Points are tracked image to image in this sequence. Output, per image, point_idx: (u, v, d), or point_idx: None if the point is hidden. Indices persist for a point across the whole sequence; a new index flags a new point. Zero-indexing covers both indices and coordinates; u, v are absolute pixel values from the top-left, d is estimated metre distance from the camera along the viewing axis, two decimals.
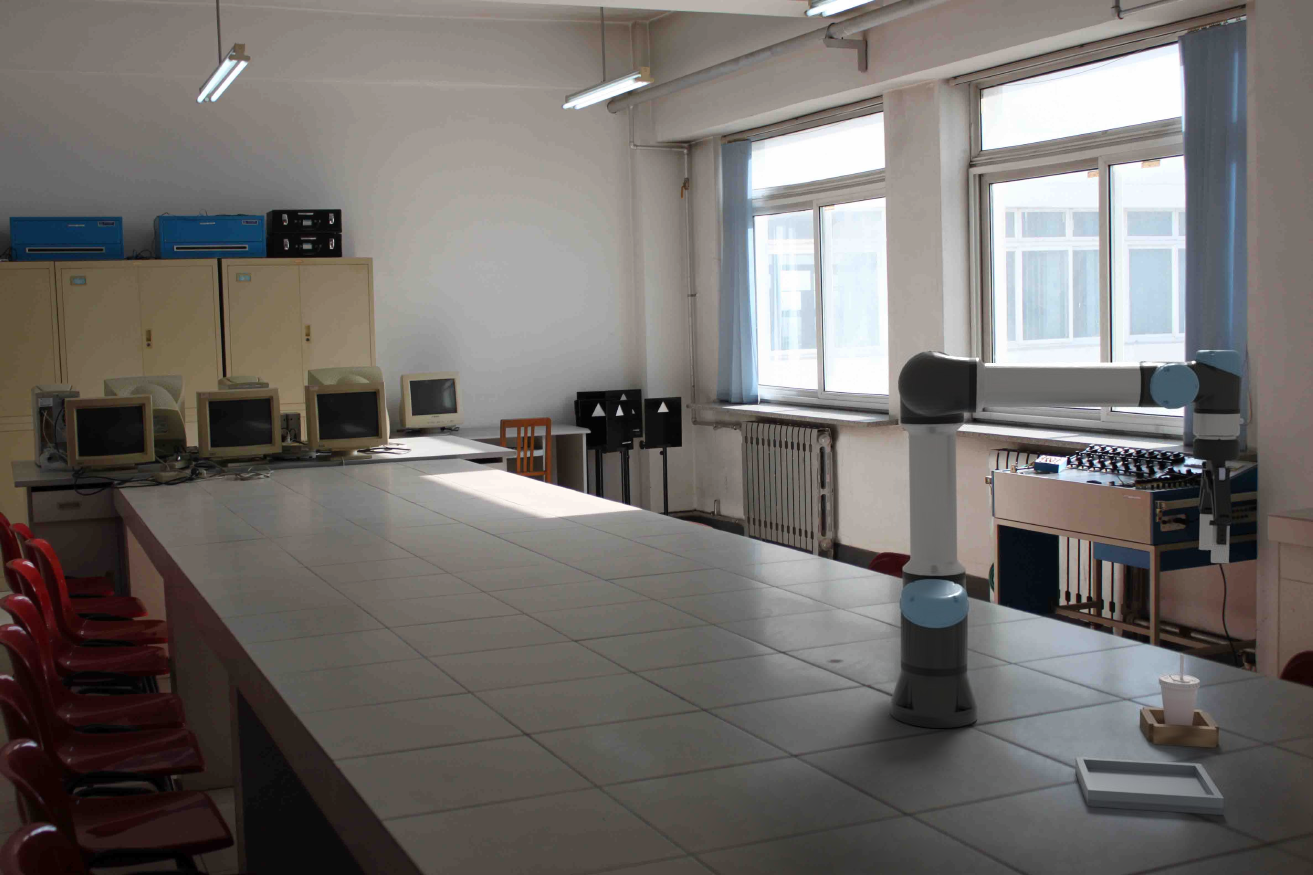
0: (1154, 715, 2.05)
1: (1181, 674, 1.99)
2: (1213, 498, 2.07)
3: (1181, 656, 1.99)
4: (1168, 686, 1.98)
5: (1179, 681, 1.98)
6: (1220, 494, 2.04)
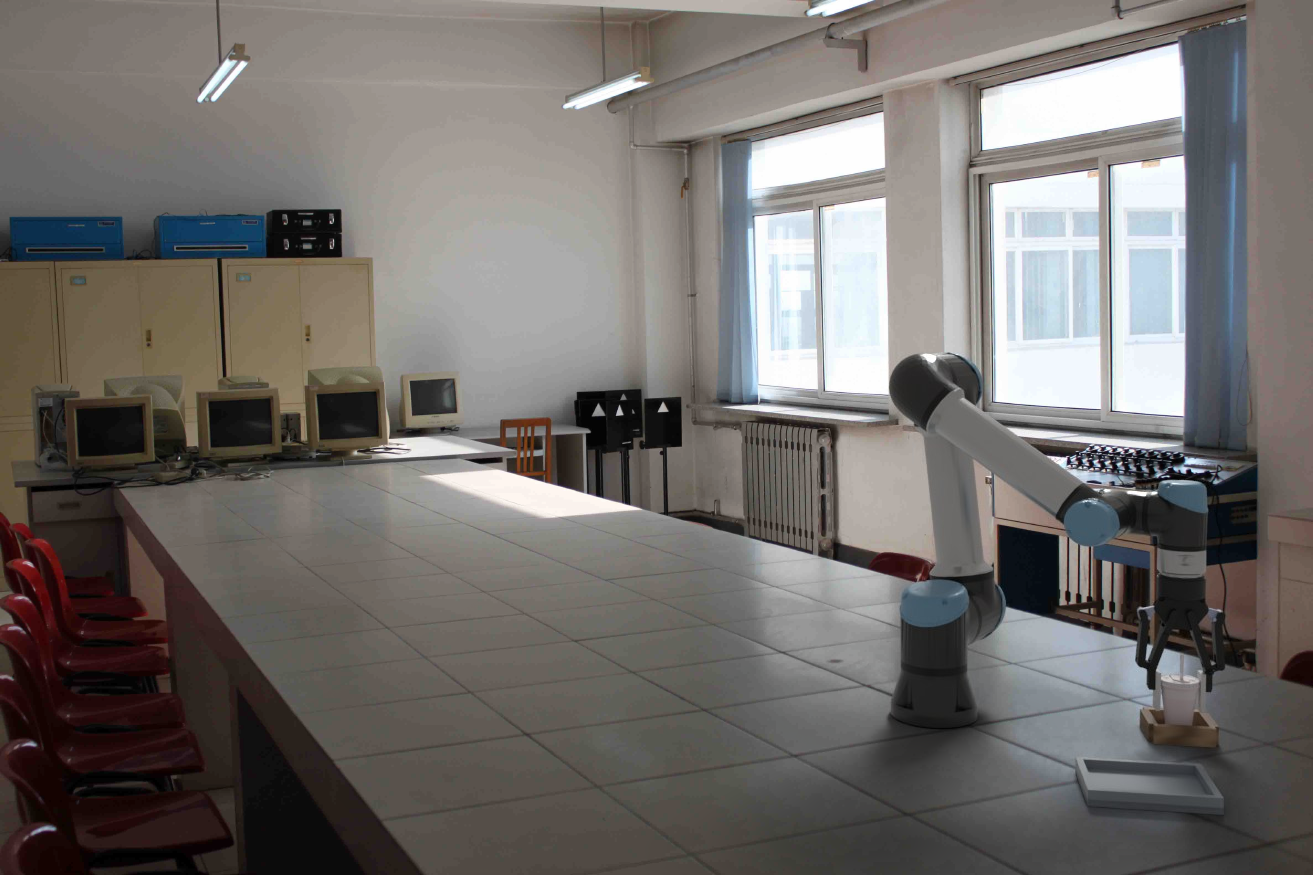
0: (1154, 715, 2.05)
1: (1181, 674, 1.99)
2: None
3: (1181, 656, 1.99)
4: (1168, 686, 1.98)
5: (1179, 681, 1.98)
6: (1138, 635, 2.01)
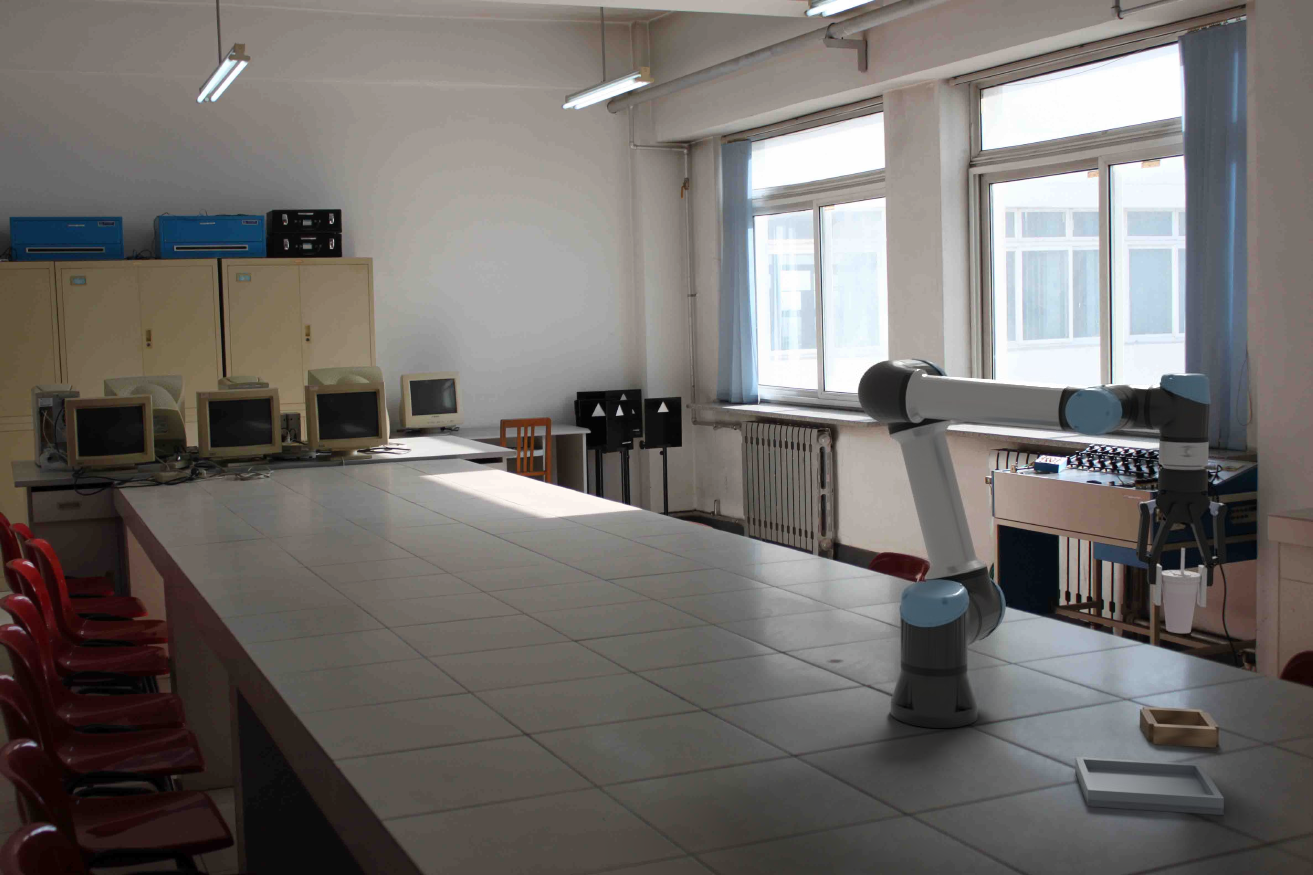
0: (1154, 715, 2.05)
1: (1182, 568, 1.98)
2: None
3: (1182, 550, 1.98)
4: (1168, 580, 1.97)
5: (1180, 575, 1.97)
6: (1139, 530, 2.00)
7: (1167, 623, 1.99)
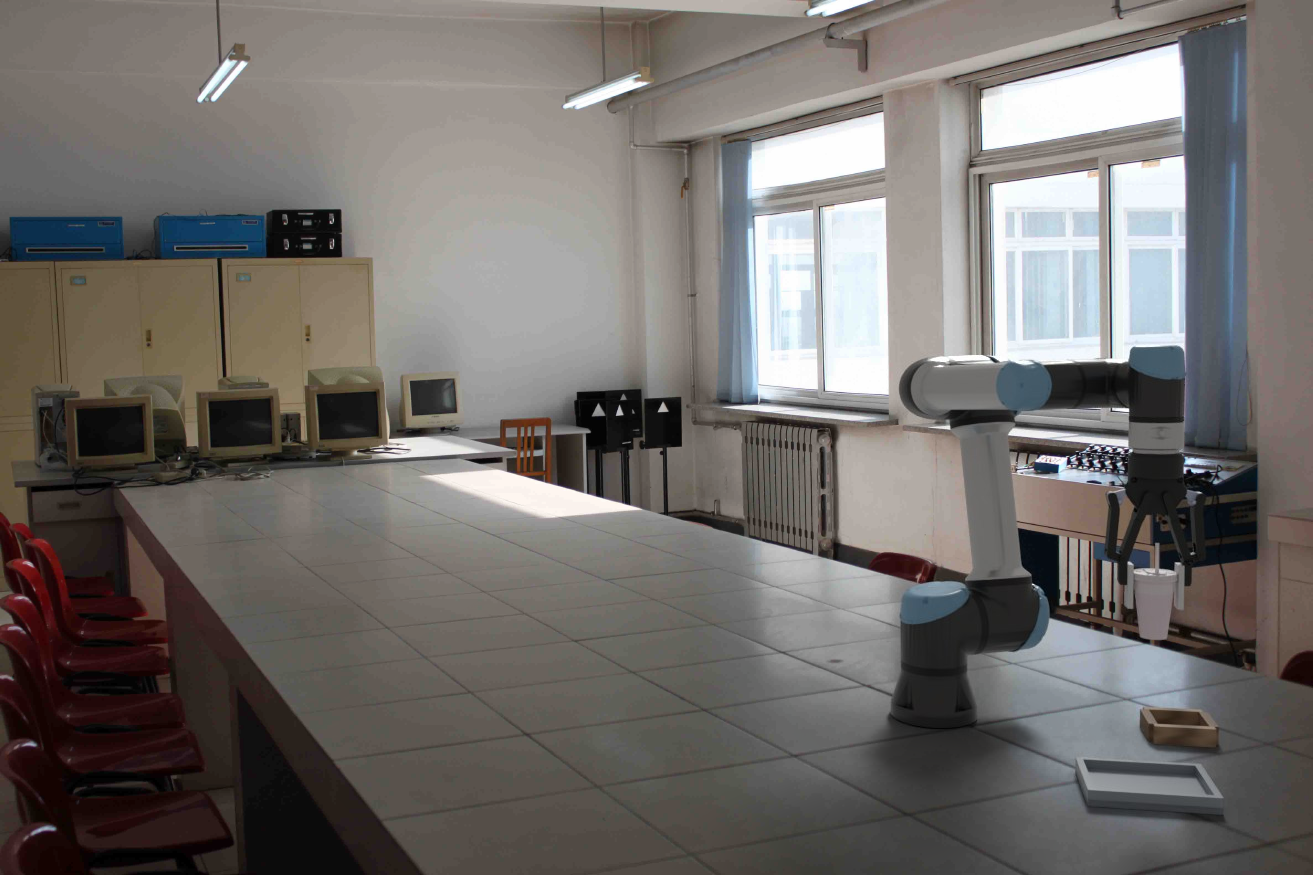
0: (1154, 715, 2.05)
1: (1156, 566, 1.74)
2: (1127, 527, 1.77)
3: (1156, 545, 1.74)
4: (1141, 580, 1.74)
5: (1154, 574, 1.74)
6: (1108, 523, 1.76)
7: (1140, 629, 1.76)
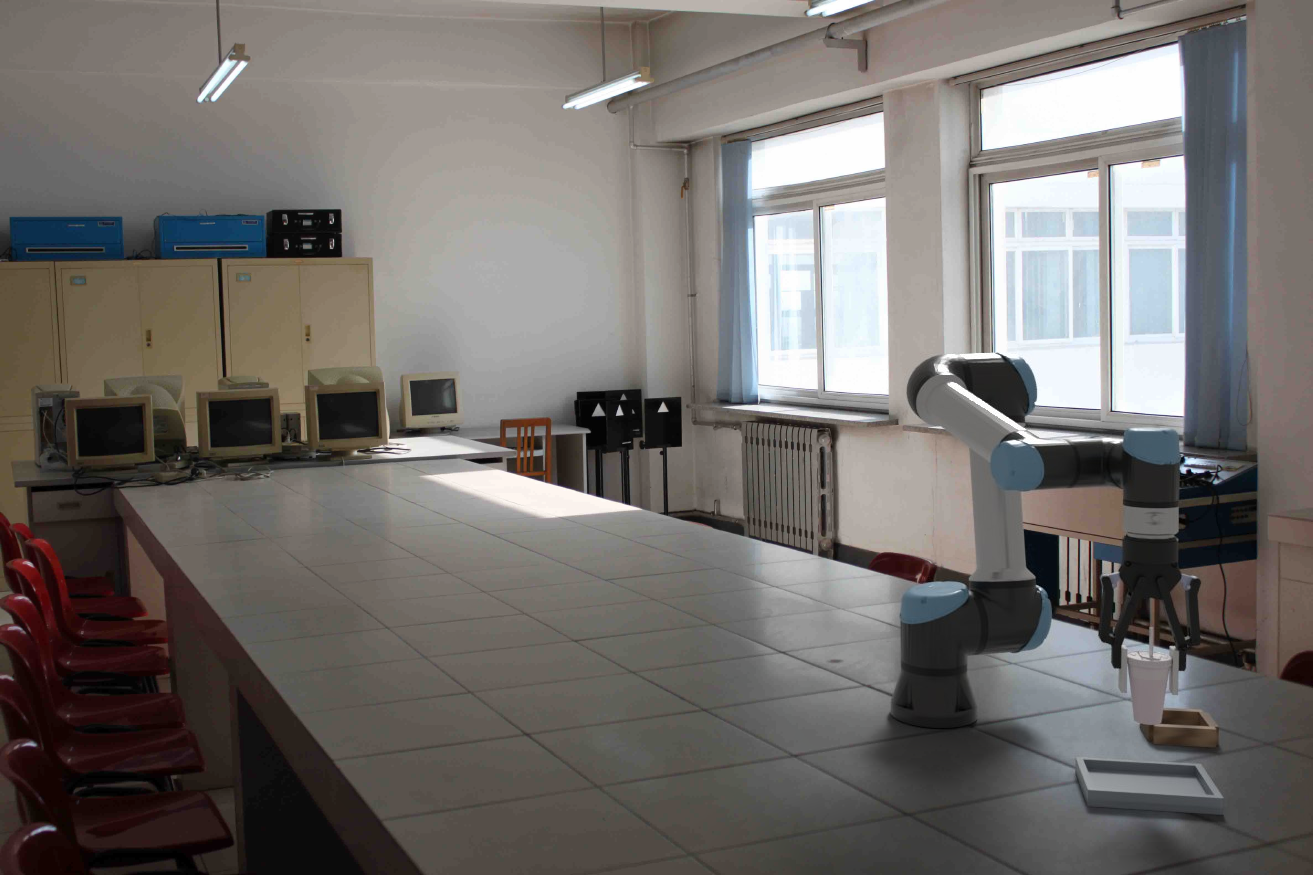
0: None
1: (1150, 650, 1.73)
2: None
3: (1150, 629, 1.73)
4: (1135, 664, 1.72)
5: (1148, 658, 1.72)
6: (1101, 606, 1.75)
7: (1134, 712, 1.74)
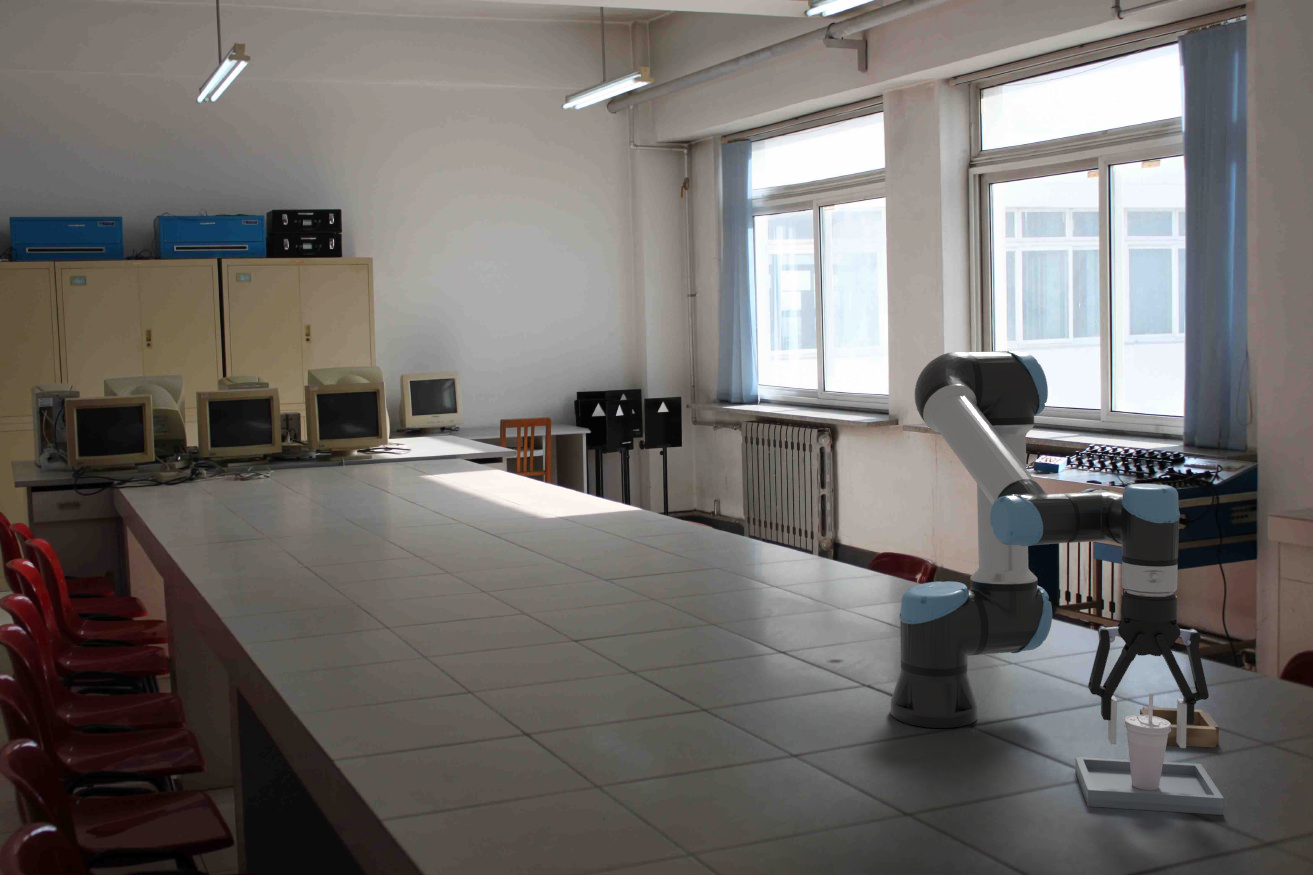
0: (1154, 715, 2.05)
1: (1150, 716, 1.74)
2: (1115, 663, 1.76)
3: (1150, 696, 1.74)
4: (1134, 730, 1.73)
5: (1147, 724, 1.73)
6: (1096, 658, 1.76)
7: (1132, 777, 1.75)
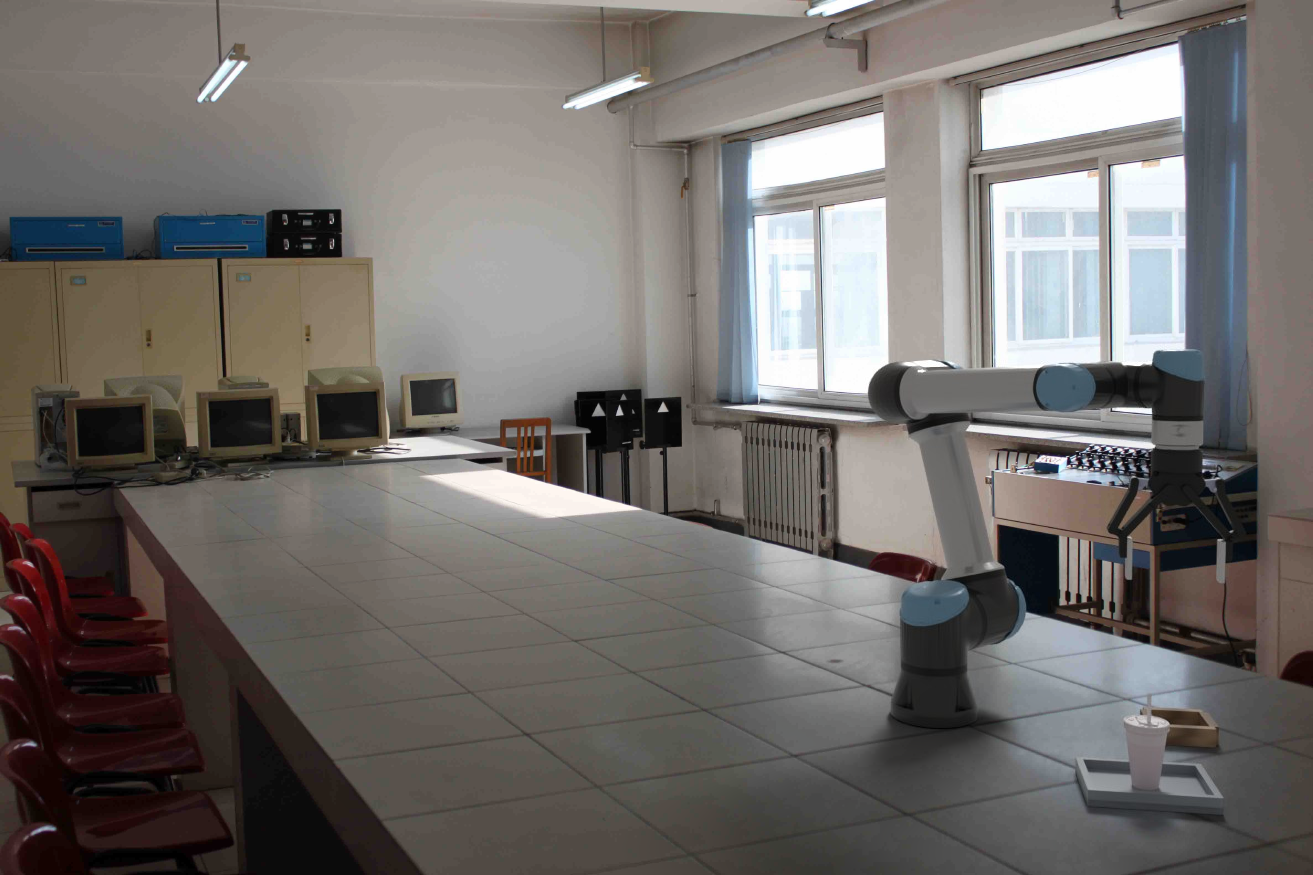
0: (1154, 715, 2.05)
1: (1148, 716, 1.74)
2: None
3: (1148, 695, 1.74)
4: (1133, 730, 1.73)
5: (1146, 724, 1.73)
6: (1120, 503, 1.92)
7: (1132, 777, 1.75)
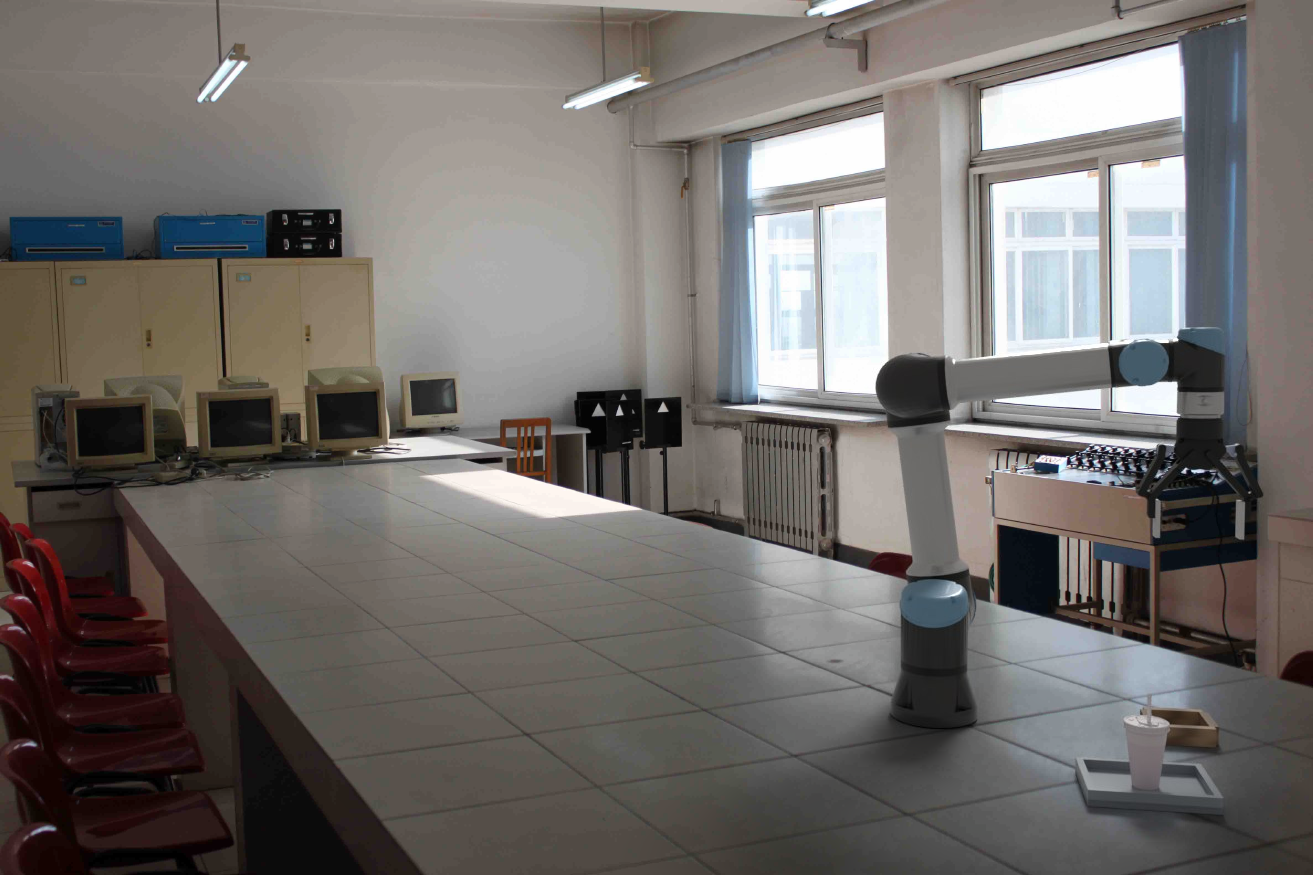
0: (1154, 715, 2.05)
1: (1148, 716, 1.74)
2: (1165, 474, 2.10)
3: (1148, 695, 1.74)
4: (1133, 730, 1.73)
5: (1146, 724, 1.73)
6: (1149, 468, 2.10)
7: (1132, 777, 1.75)
